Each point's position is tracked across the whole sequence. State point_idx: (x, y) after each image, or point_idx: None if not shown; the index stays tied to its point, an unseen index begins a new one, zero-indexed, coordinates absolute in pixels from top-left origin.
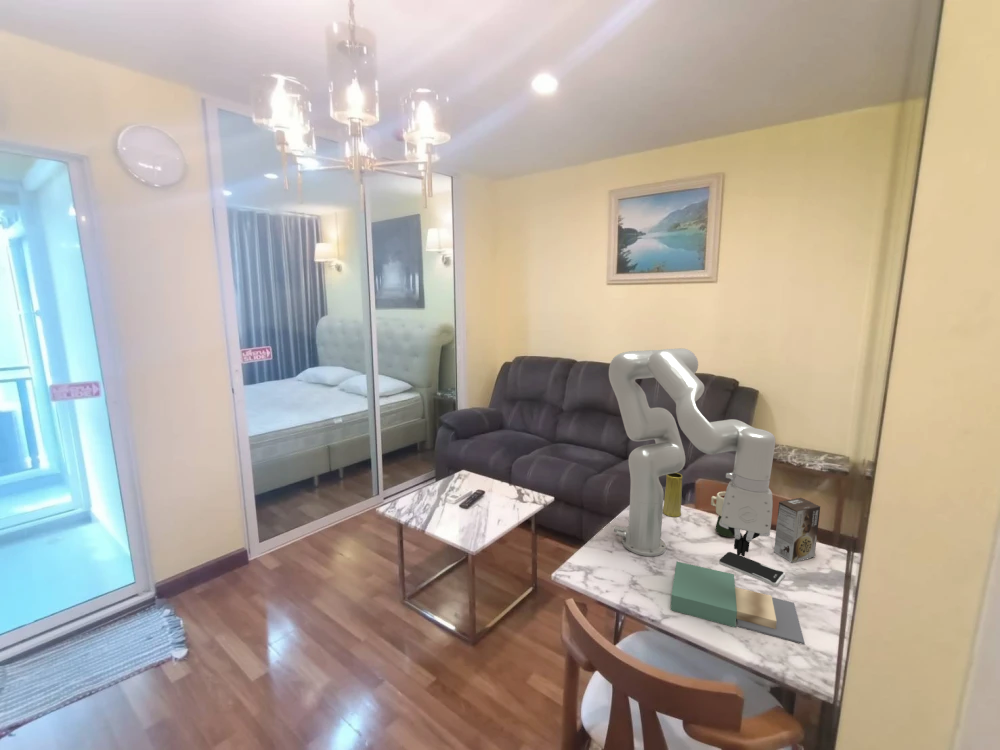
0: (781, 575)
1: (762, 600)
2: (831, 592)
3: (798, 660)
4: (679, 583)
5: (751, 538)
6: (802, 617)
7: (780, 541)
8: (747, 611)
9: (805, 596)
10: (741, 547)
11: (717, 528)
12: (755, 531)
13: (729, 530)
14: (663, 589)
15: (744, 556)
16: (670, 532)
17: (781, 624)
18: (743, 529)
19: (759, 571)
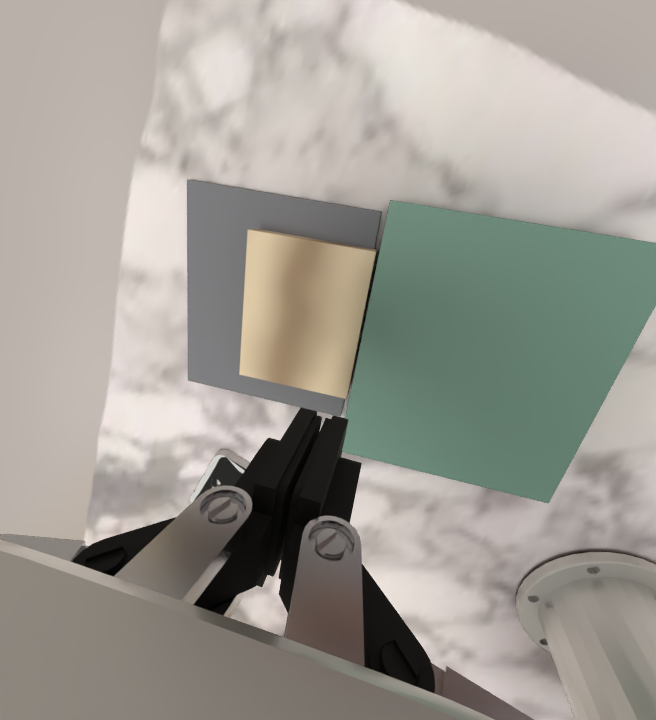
0: (200, 490)
1: (271, 341)
2: (101, 444)
3: (220, 77)
4: (598, 353)
5: (192, 512)
6: (177, 321)
7: None
8: (336, 259)
9: (158, 418)
10: (311, 451)
11: None
12: (32, 575)
13: None
14: None
15: (302, 408)
16: (469, 659)
17: (238, 260)
18: (228, 631)
19: None
